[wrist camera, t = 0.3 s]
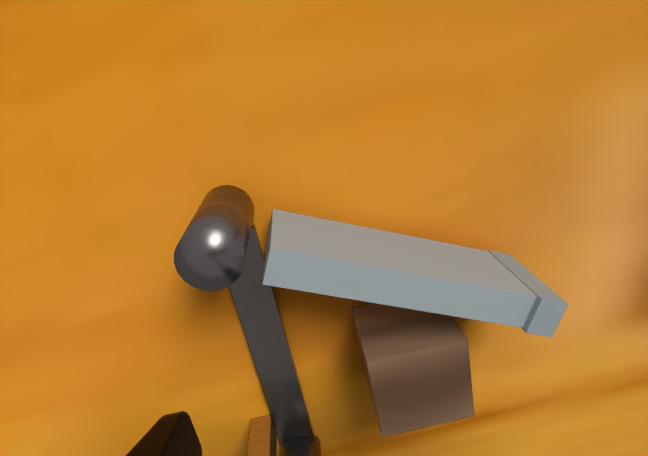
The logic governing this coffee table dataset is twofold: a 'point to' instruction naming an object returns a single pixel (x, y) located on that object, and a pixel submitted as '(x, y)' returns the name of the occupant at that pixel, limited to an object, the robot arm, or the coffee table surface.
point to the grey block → (407, 273)
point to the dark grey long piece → (249, 314)
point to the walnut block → (414, 367)
